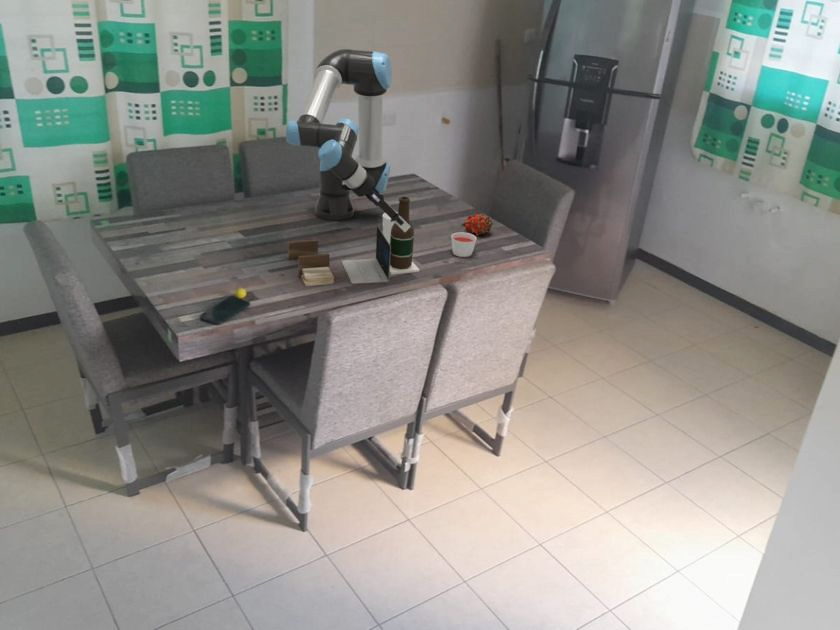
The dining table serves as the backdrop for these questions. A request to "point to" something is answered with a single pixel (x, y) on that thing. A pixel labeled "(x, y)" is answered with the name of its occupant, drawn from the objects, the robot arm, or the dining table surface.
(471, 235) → the cup of red liquid
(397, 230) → the beer bottle
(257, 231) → the dining table surface
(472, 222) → the dragon fruit
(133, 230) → the dining table surface
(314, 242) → the bookends with books
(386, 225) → the white cup
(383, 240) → the laptop
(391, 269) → the placing pad
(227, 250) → the dining table surface
